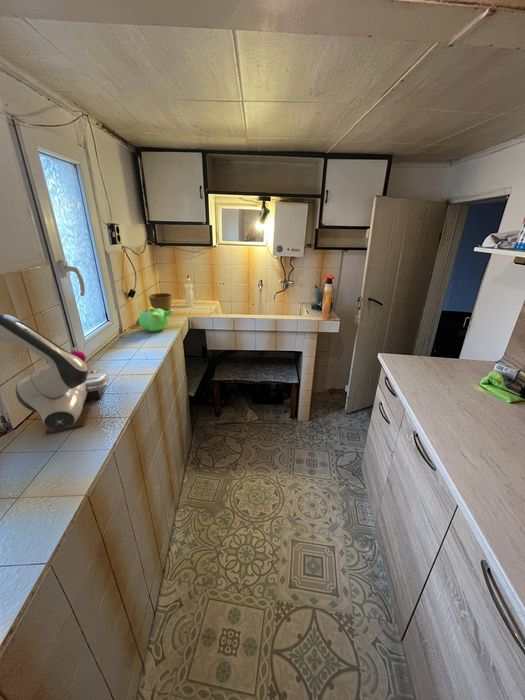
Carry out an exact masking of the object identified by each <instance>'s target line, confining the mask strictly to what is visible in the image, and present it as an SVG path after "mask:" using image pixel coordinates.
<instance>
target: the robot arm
mask: <svg viewBox="0 0 525 700" xmlns="http://www.w3.org/2000/svg"><path fill="white" fill-rule="evenodd" d="M0 343H14V344H17V345H20V346H22V347H24V348H25V349H27V350H29V351H30V352H32V353H33V354H34V355H36V356H38V357H39V358H41V359H43V360H44V361H46V362H47V363H45V364H44V365H43V366H41V367H40V368H38V369H36V370H34V371H33V372H31V373H29V374H28V375H26V376H25V377H23V378H22V379H20V380H18V381H17V383H16V385H15V395H16V398H17V401H18V402H19V404H21V405H22V406H23V407H24V408H26V409H27V410H30V411H32V412H35V413H37V414H38V415H39V416H40V418H41V420H42V421H41V422H42V424H43V425H44V426H45V427H46V428H48V429H52V430H62V429H66V428H68V427H70V426H72V425H73V424H74V423H75V422H76V421H77V419H78V418H79V416H80V414H81V411H82V409H84V404H85V403H86V402H85V399H86V396H87V393H88V392H91V391H96V390H101V389H103V390H104V389H105V388H106V387H107V386H108V383H109V382H110V378H109V374H108V372H106V371H100V372H97V369H92V370H90V373H89V367H88V365H87V363H86V364H85V362H86V361H83V360H82V359H80V358H79V357H77V356H76V355H74V354H72V353H70V352H71V351H68V350H66V349H64V348H62V347H61V346H60V345H58V344H57V343H56V342H53V340H51V339H50V338H48V337H46V336H45V335H43V334H42V333H40V332H39V331H37V330H35V329H34V328H33V327H31V326H29V325H28V324H27V323H25V322H24V321H22V320H20V319H18V318H16V317H14V316H13V315H10V314H7V313H5V314H0ZM62 431H63V430H62Z"/></svg>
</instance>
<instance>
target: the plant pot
mask: <svg viewBox="0 0 525 700" xmlns="http://www.w3.org/2000/svg"><path fill="white" fill-rule="evenodd" d="M148 298H149V299H148V300H149V302H150V306H151V307H153V308H160V309H163V310H164V311H169V310H172V309H171V308H172V299H173V298H172V294H171V293H168V292H157V293H152V294H149V295H148ZM168 317H169V318H170V315H168Z"/></svg>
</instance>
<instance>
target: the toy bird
mask: <svg viewBox="0 0 525 700" xmlns="http://www.w3.org/2000/svg"><path fill="white" fill-rule="evenodd" d="M173 312H174V310H173V309H170V310H169V311H164V310H163V309H160V308H153V307H152V305H150V306H149V305H148V308H146V309H145V310H143V311H142V312H140V314H139V317H138V323H139V326H140V327H141V328H142V329H143V330H144V331H146V332H158V331H162V330H163V329H165V327H167V325H168V324H169V320H170V315H171V314H172V313H173ZM168 315H169V317H168Z"/></svg>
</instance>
